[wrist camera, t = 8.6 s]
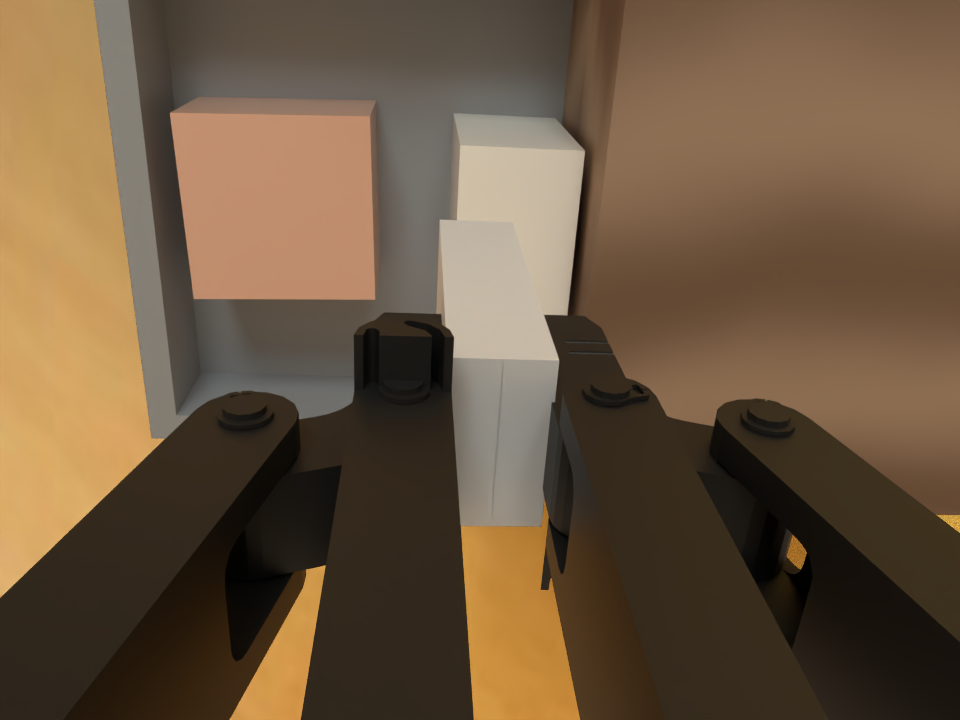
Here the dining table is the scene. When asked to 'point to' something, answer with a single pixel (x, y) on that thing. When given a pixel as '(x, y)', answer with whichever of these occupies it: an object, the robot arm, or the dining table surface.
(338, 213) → the terracotta tile
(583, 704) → the robot arm
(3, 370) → the dining table surface
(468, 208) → the cream square block
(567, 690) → the dining table surface
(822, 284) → the brown wooden block
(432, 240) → the grey box
